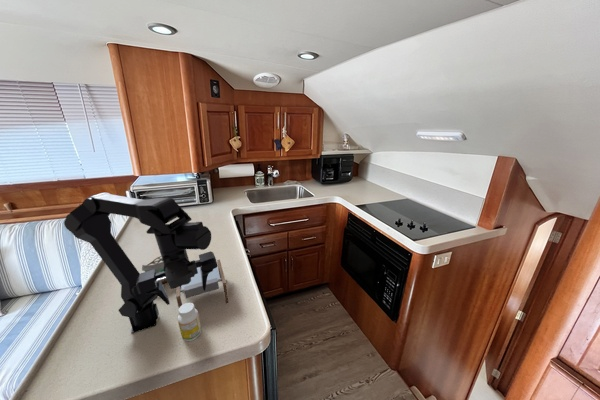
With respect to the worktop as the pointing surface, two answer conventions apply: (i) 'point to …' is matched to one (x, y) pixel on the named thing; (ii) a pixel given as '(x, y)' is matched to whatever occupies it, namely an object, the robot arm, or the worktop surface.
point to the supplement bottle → (189, 322)
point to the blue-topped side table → (222, 282)
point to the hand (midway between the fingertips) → (187, 296)
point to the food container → (155, 267)
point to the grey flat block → (196, 283)
